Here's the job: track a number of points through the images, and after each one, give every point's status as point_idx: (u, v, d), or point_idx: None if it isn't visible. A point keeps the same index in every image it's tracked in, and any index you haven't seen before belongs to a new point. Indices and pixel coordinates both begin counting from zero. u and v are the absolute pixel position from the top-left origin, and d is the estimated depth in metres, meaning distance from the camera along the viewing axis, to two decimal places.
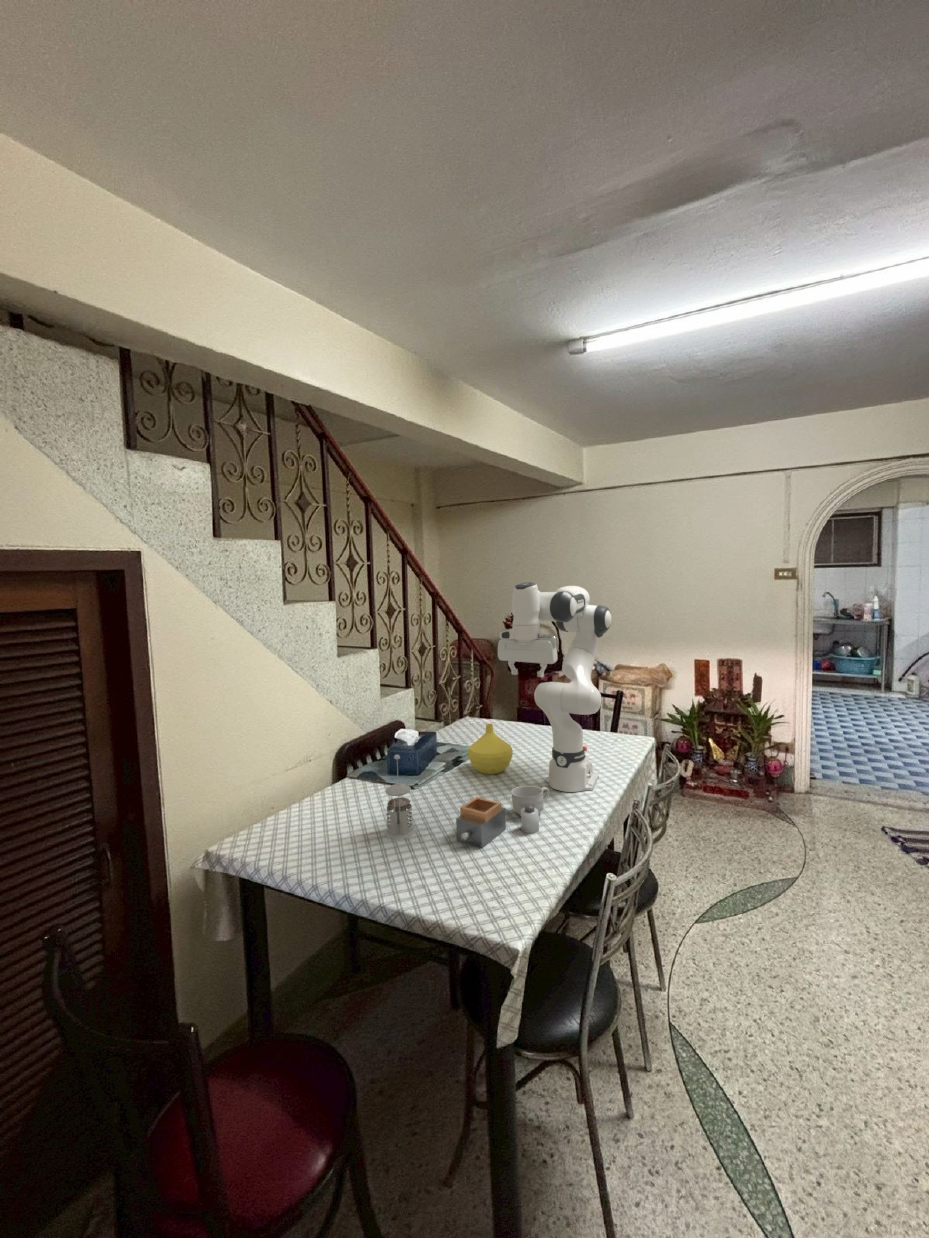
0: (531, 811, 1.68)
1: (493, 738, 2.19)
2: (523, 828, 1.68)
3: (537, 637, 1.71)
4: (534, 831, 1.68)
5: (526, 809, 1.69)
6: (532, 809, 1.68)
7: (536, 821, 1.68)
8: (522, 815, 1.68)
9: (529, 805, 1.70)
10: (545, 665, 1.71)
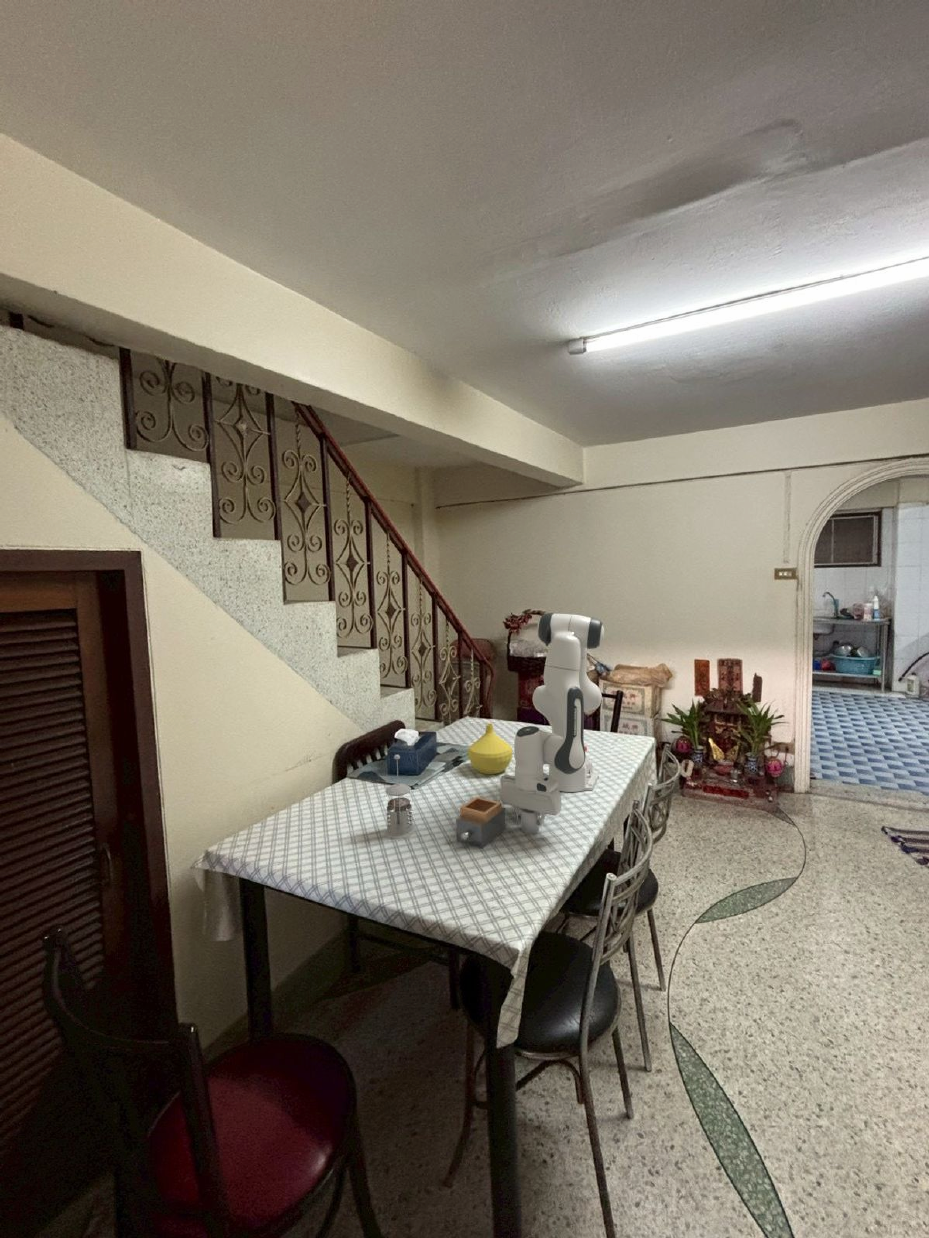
0: (531, 811, 1.68)
1: (493, 738, 2.19)
2: (523, 828, 1.68)
3: None
4: (534, 831, 1.68)
5: (526, 809, 1.69)
6: None
7: (536, 821, 1.68)
8: (522, 815, 1.68)
9: None
10: None
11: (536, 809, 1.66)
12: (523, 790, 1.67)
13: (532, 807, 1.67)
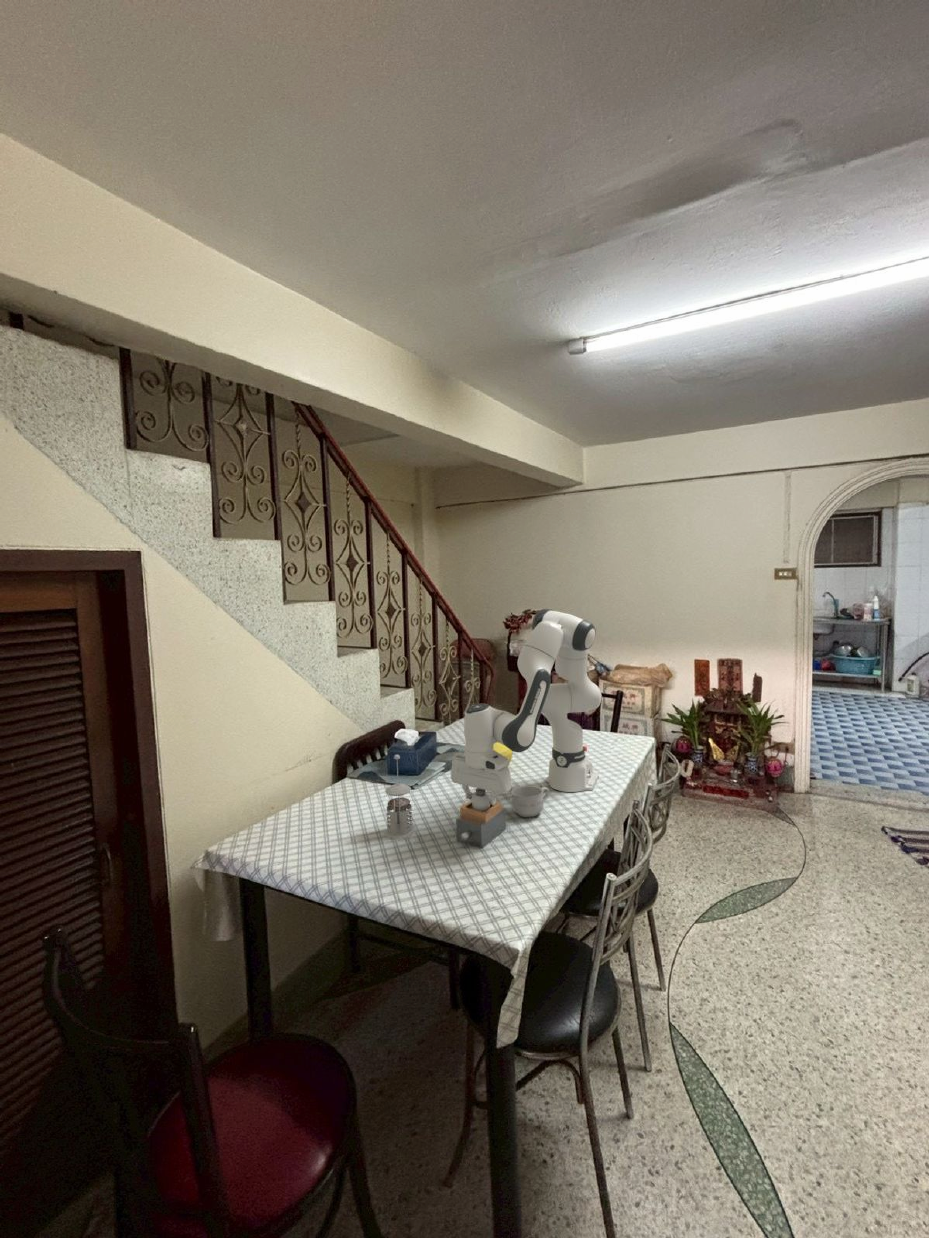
0: (482, 794, 1.65)
1: None
2: None
3: None
4: None
5: (477, 792, 1.65)
6: (483, 792, 1.65)
7: (487, 804, 1.64)
8: (473, 798, 1.65)
9: None
10: None
11: (486, 788, 1.63)
12: (472, 768, 1.63)
13: (482, 786, 1.63)
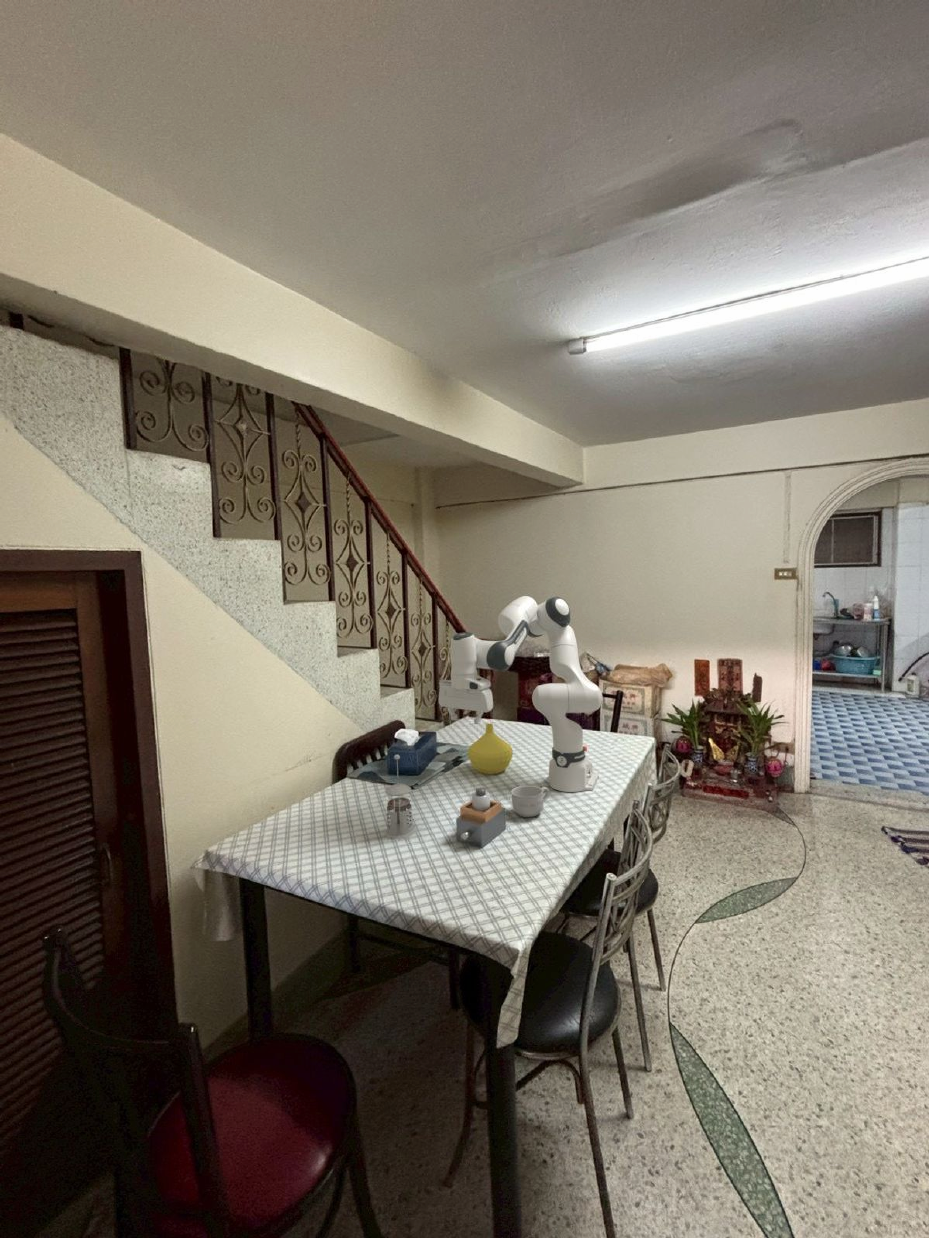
0: (482, 794, 1.65)
1: (493, 738, 2.19)
2: None
3: None
4: None
5: (477, 792, 1.65)
6: (483, 792, 1.65)
7: (487, 804, 1.64)
8: (473, 798, 1.65)
9: (480, 788, 1.67)
10: None
11: (470, 708, 1.78)
12: (458, 690, 1.79)
13: (466, 706, 1.79)
